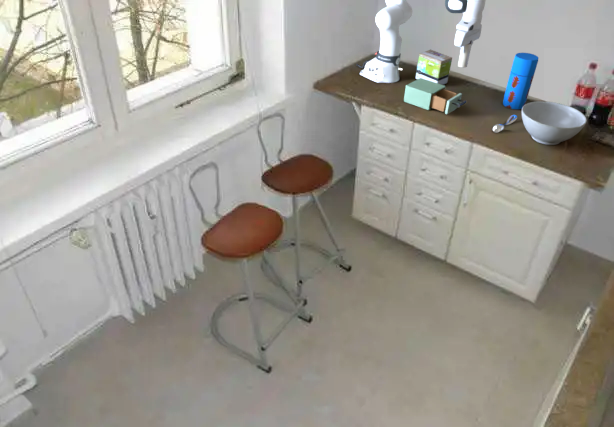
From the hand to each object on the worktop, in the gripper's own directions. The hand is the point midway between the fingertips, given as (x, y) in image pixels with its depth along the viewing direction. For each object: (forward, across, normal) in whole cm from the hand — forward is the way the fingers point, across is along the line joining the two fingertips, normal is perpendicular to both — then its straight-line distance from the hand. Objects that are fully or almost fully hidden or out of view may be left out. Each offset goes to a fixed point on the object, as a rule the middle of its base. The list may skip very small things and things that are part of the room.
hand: (465, 51), depth 256 cm
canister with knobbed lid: (+7, 0, 0) cm, 7 cm away
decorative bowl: (+24, +12, +52) cm, 58 cm away
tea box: (+24, -9, -20) cm, 32 cm away
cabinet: (+24, +17, -9) cm, 31 cm away
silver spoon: (+24, +13, +33) cm, 43 cm away
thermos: (+24, -12, +26) cm, 37 cm away
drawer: (+23, +17, +3) cm, 29 cm away
